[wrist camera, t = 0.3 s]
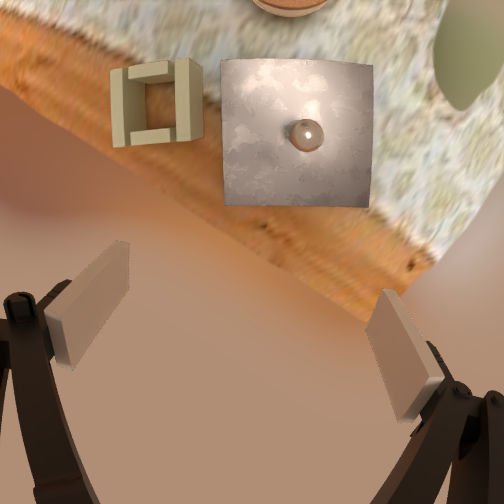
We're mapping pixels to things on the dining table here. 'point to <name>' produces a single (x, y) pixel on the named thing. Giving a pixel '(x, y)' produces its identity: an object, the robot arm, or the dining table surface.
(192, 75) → the square link
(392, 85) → the dining table surface
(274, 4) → the lidded jar
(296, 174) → the keeper base
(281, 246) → the dining table surface
